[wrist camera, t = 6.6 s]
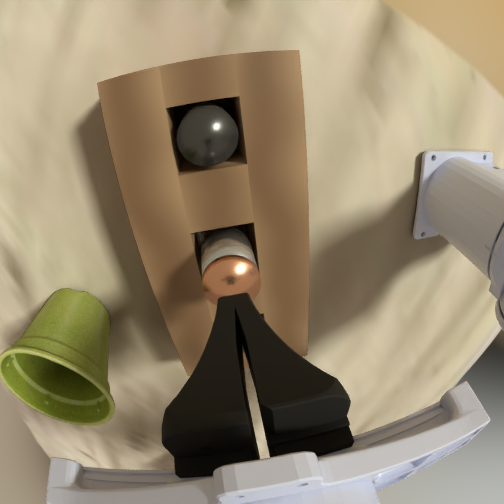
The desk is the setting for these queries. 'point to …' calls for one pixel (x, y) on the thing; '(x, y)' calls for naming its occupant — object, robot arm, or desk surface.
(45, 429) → the desk surface
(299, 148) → the socket block
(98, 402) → the plant pot
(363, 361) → the desk surface
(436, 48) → the desk surface
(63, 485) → the robot arm
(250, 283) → the plug mid
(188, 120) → the plug
